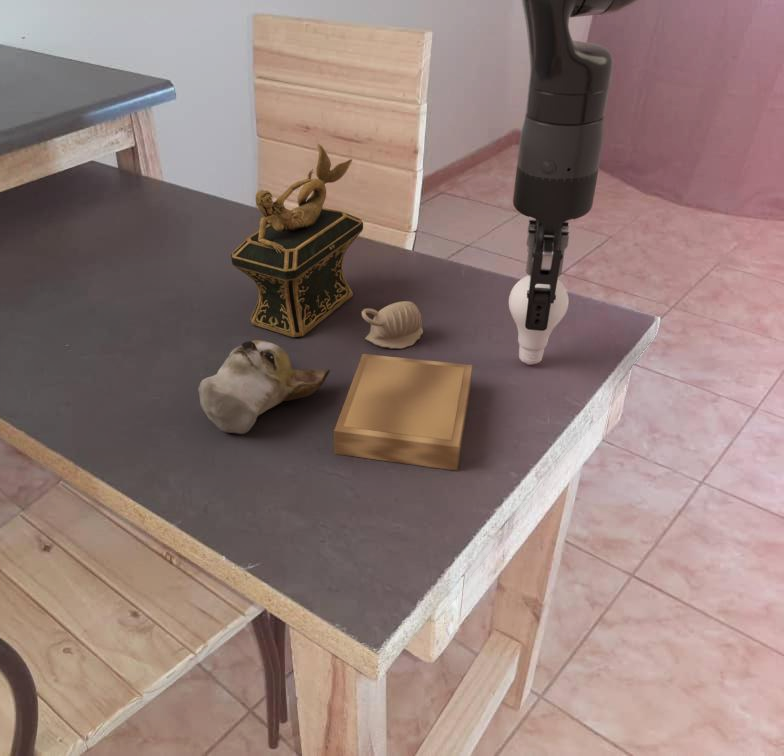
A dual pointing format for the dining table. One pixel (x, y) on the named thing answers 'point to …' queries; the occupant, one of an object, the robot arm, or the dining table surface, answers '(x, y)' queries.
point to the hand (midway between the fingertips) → (536, 312)
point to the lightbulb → (518, 302)
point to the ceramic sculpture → (254, 385)
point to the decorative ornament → (395, 325)
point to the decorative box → (299, 255)
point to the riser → (405, 411)
